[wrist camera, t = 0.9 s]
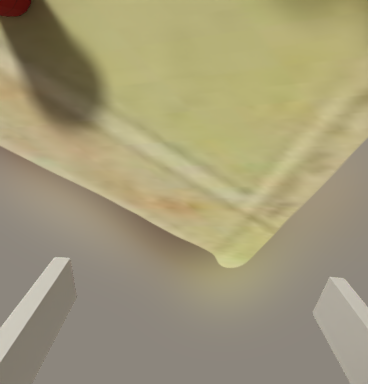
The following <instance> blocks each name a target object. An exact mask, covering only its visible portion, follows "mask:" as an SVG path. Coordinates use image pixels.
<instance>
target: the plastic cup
mask: <svg viewBox="0 0 368 384" xmlns="http://www.w3.org/2000/svg"><path fill="white" fill-rule="evenodd" d="M30 4H31V0H0V16H7V17H9V16H20V15H22V14H23V13H25V12H26V11H27V9H28V8H29V6H30Z"/></svg>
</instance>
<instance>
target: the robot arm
mask: <svg viewBox="0 0 368 384" xmlns="http://www.w3.org/2000/svg"><path fill="white" fill-rule="evenodd" d="M76 298H77V295H76V289H75V283H74V277H73V271H72V266H71V260H70V258H62V257H54V259H53V260H52V261H51V263H50V264H49V265H48V266H47V268H46V269H45V270H44V272H43V273H42V274H41V275H40V277H39V278H38V279H37V281H36V282H35V283H34V285H33V286H32V287H31V289H30V290H29V291H28V293H27V294H26V295H25V297H24V298H23V299H22V300H21V302H20V303H19V304H18V306H17V307H16V308H15V309H14V311H13V312H12V313H11V315H10V316H9V317H8V319H7V320H6V321H5V323H4V324H3V325H2V326H1V328H0V384H32V383H33V381H34V379H35V377H36V375H37V373H38V371H39V369H40V367H41V365H42V363H43V362H44V359H45V358H46V356H47V354H48V352H49V350H50V348H51V346H52V344H53V342H54V340H55V338H56V336H57V334H58V333H59V331H60V329H61V327H62V325H63V323H64V321H65V319H66V317H67V315H68V313H69V311H70V309H71V307H72V305H73V304H74V302H75V300H76ZM312 314H313V316H314V318H315V320H316V321H317V323H318V325H319V327H320V329H321V331H322V332H323V334H324V336H325V338H326V340H327V342H328V343H329V345H330V347H331V349H332V351H333V353H334V355H335V356H336V358H337V360H338V362H339V364H340V366H341V368H342V369H343V371H344V373H345V375H346V377H347V378H348V380H349V382H350V384H368V307H367V306H366V304H365V303H364V302H363V301H362V299H360V297H359V296H358V295H357V293H356V292H355V291H354V290H353V288H352V287H351V286H350V285H349V283H348V282H347V281H346V280H345V278H337V277H329V279H328V281H327V283H326V285H325V287H324V290H323V291H322V294H321V296H320V298H319V300H318V302H317V304H316V306H315V308H314V310H313V312H312Z"/></svg>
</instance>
